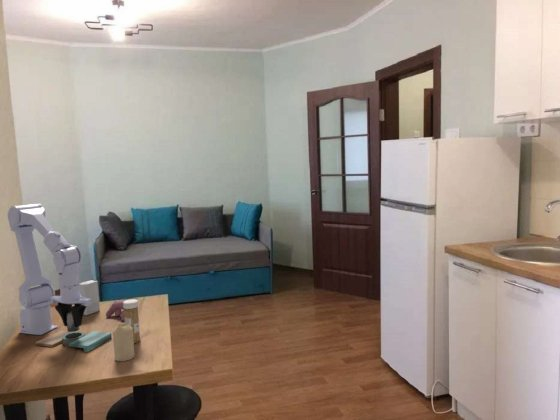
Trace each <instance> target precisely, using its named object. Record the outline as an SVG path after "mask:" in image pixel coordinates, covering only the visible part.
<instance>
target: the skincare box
mask: <svg viewBox="0 0 560 420" xmlns="http://www.w3.org/2000/svg"><path fill="white" fill-rule="evenodd" d="M98 283H99V281H98V280H93V279H91V280H87V281H83V282H81V283H80V282H79V288H80V295H81V296H82V297H85V298H89V299H91V305H89V306H87V307H86V309H85V311H84V314H83V316H89V315H91V314H94V313H98V312H99V311H100V310H101V308H100V296H99V284H98Z"/></svg>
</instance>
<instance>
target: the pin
mask: <svg viewBox="0 0 560 420" xmlns="http://www.w3.org/2000/svg"><path fill="white" fill-rule="evenodd" d="M66 318H67V326H66V328H67V330H66V331H68V332H79V330H80V326H79V327H75V326H74V320H73V315H72V312H71V311H68V312H66Z"/></svg>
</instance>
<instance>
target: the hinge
mask: <svg viewBox="0 0 560 420" xmlns="http://www.w3.org/2000/svg"><path fill="white" fill-rule="evenodd" d="M112 338H113V336H112V332H107V331H105V332H104V331H97V330H93V331H90V332H89V333H87V334H86V333H85V332H83V331H75V332H68V331H67V330H64V329H60V330H58V331H57V332H54V333H52V334H50V335H48V336H45V337H44V338H42V339H40V340H38V341H36V342H35V344H34V345H35V346H41V347H42V346H43V347H50V348H54V347H56V346H58V345H60V344H63V346H67V347H73V348H78V349H79V348H80V349H83V352H87V353H88V352H90V351H92V350H94V349H95V348H97V347H99V346H101V345H103V344H104V343H106V342H107V341H109V340H112Z"/></svg>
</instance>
